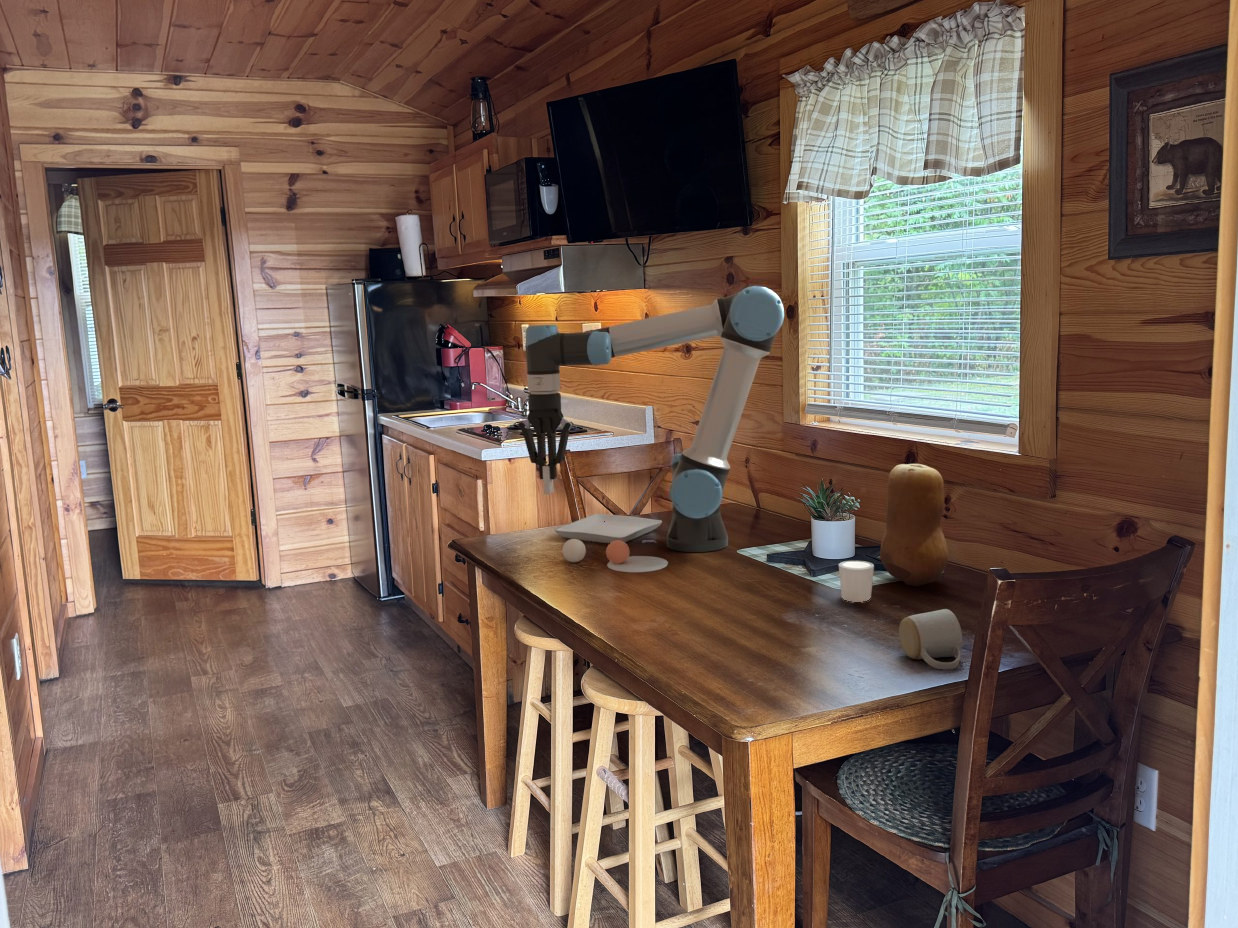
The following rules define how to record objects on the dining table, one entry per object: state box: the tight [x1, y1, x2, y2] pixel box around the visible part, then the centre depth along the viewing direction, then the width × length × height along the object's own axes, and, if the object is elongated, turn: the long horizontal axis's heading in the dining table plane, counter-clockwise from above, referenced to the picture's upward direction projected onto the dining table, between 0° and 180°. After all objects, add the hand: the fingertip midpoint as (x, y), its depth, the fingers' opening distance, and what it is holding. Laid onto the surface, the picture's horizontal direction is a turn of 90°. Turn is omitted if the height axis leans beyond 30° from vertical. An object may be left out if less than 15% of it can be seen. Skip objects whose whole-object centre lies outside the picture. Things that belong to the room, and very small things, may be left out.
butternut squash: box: [879, 463, 949, 587], centre depth 206 cm, size 14×13×25 cm
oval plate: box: [607, 555, 669, 573], centre depth 231 cm, size 14×14×1 cm
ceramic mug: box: [898, 608, 963, 670], centre depth 164 cm, size 11×8×8 cm
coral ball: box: [605, 540, 631, 564], centre depth 232 cm, size 6×6×6 cm
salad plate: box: [554, 513, 663, 544], centre depth 261 cm, size 21×21×3 cm
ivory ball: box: [562, 538, 587, 563], centre depth 234 cm, size 6×6×6 cm
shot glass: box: [838, 560, 875, 603], centre depth 198 cm, size 7×7×7 cm
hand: (548, 492), depth 234 cm, fingers closed
